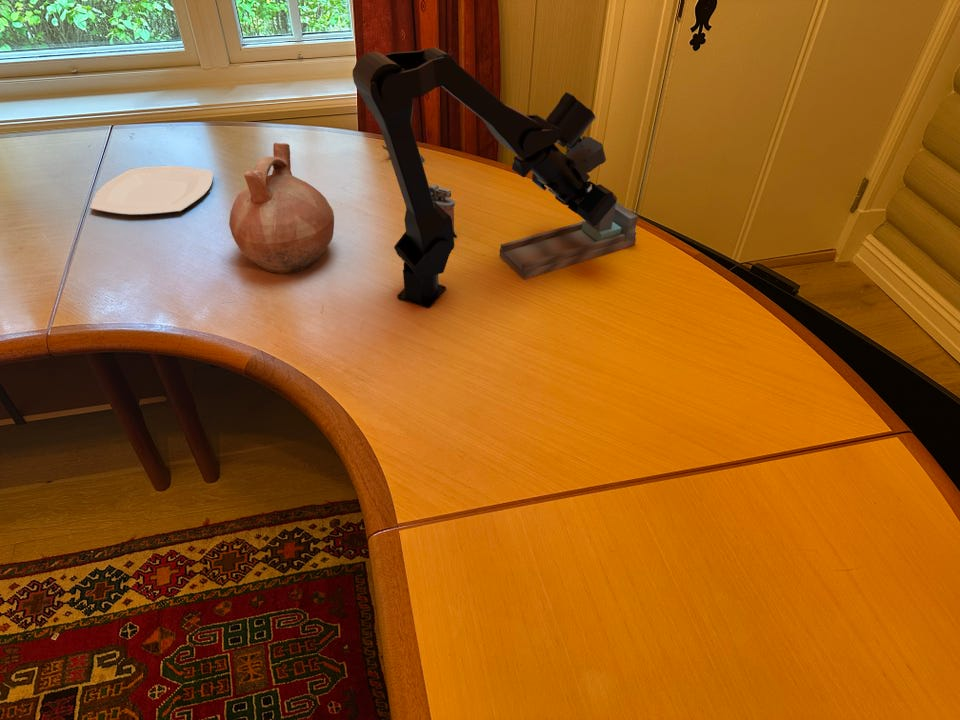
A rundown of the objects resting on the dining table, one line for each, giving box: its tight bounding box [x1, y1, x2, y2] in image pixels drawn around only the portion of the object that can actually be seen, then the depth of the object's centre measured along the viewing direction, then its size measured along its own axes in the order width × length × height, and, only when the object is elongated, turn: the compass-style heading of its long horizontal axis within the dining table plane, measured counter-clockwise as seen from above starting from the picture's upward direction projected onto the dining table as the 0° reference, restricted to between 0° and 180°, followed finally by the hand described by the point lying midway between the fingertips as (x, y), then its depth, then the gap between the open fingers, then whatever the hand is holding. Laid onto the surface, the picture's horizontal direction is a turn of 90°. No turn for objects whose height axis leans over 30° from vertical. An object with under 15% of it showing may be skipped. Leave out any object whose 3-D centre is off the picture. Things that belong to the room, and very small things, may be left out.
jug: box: [228, 142, 335, 274], centre depth 108 cm, size 18×18×20 cm
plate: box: [89, 165, 214, 216], centre depth 132 cm, size 23×23×2 cm
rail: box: [498, 201, 639, 280], centre depth 116 cm, size 26×9×6 cm, turn 119°
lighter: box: [428, 183, 456, 234], centre depth 119 cm, size 8×3×10 cm, turn 62°
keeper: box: [581, 203, 622, 241], centre depth 117 cm, size 5×6×8 cm
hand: (593, 210), depth 115 cm, fingers closed, pressing on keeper
